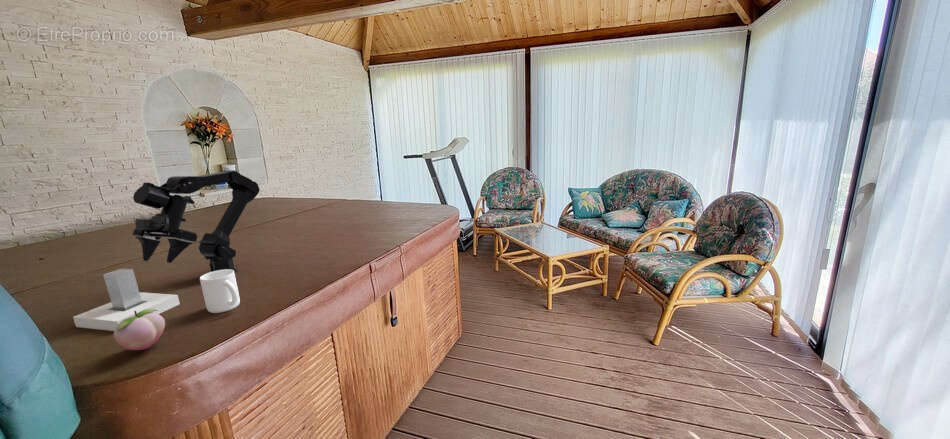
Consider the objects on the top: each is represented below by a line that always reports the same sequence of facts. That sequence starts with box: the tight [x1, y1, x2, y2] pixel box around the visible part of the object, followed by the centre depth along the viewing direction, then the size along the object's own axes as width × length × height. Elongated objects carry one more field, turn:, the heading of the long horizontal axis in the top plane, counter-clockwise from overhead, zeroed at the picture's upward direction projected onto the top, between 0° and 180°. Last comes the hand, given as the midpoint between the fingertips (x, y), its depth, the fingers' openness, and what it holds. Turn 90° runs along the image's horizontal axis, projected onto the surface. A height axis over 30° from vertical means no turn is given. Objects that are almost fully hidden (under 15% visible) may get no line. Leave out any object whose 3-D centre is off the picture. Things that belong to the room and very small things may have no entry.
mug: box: [199, 269, 241, 314], centre depth 107 cm, size 12×8×10 cm
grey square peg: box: [102, 268, 142, 311], centre depth 105 cm, size 4×4×13 cm
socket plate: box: [72, 291, 180, 332], centre depth 106 cm, size 16×16×3 cm
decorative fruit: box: [113, 309, 166, 351], centre depth 87 cm, size 9×8×10 cm
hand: (157, 261), depth 114 cm, fingers open, 9 cm apart
